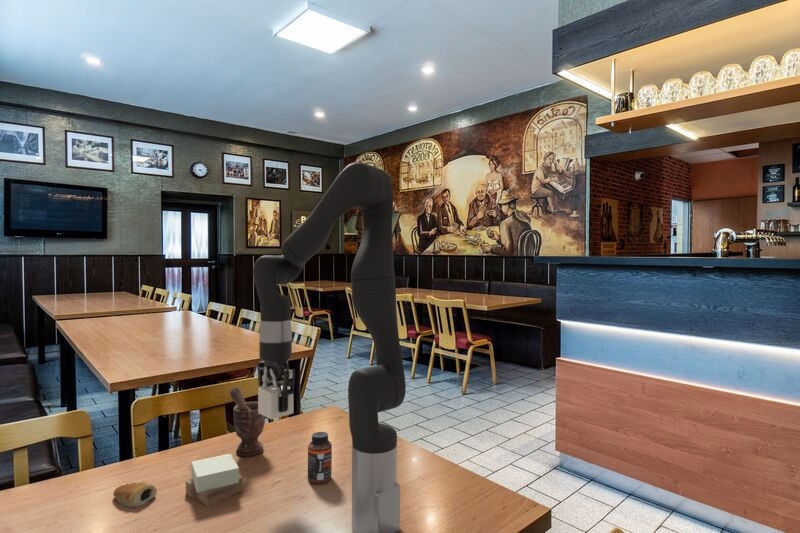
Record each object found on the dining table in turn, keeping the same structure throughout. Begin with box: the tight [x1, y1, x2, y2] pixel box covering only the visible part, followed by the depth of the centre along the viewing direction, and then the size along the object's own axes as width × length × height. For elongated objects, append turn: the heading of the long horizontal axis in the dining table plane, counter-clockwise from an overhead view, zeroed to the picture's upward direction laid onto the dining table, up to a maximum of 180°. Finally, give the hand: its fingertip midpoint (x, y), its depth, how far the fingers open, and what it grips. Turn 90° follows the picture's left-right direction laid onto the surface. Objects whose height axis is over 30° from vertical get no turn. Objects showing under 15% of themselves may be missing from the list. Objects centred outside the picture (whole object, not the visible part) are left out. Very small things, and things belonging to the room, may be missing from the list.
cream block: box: [257, 385, 294, 420], centre depth 112 cm, size 6×6×6 cm
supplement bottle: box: [307, 431, 333, 485], centre depth 117 cm, size 6×6×11 cm
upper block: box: [190, 453, 240, 493], centre depth 110 cm, size 9×9×4 cm
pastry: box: [113, 481, 158, 508], centre depth 107 cm, size 9×7×4 cm
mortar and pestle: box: [229, 387, 266, 458], centre depth 131 cm, size 12×9×20 cm
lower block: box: [185, 475, 244, 507], centre depth 110 cm, size 9×9×4 cm
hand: (275, 408), depth 112 cm, fingers closed on cream block, 6 cm apart
